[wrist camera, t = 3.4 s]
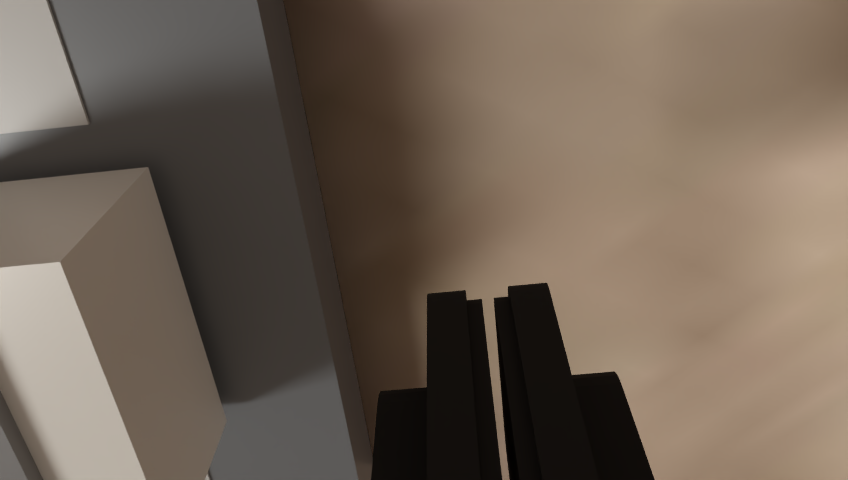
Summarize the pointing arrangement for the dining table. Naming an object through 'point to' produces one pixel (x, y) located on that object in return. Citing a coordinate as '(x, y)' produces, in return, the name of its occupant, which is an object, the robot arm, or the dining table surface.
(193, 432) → the fader knob
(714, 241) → the dining table surface
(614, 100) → the dining table surface
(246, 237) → the fader console
